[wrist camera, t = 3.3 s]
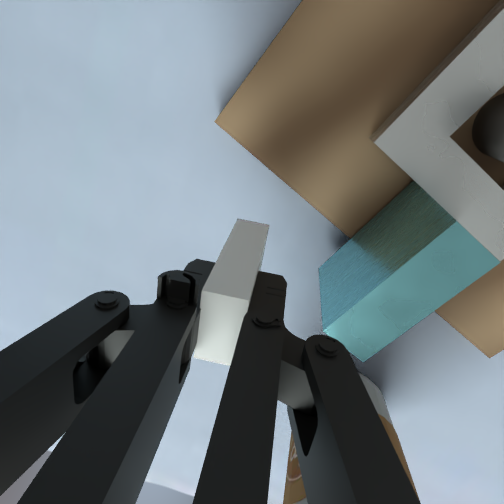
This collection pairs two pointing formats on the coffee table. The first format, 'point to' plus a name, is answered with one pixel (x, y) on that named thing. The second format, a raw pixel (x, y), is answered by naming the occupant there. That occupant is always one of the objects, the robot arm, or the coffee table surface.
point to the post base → (365, 118)
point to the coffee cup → (294, 485)
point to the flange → (423, 207)
